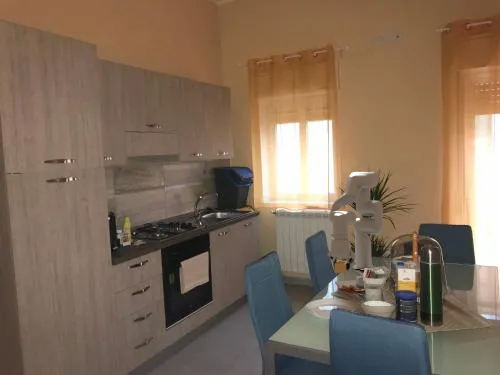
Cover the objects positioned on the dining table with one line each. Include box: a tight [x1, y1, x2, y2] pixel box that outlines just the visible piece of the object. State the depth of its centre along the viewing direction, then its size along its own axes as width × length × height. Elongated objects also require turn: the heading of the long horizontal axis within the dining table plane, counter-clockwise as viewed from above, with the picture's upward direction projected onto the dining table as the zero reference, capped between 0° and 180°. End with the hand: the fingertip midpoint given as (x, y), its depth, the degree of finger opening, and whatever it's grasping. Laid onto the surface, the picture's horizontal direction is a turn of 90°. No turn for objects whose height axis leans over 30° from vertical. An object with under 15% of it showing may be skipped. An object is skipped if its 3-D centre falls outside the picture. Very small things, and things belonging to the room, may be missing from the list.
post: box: [355, 275, 365, 287], centre depth 210 cm, size 3×3×5 cm
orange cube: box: [334, 259, 350, 274], centre depth 217 cm, size 6×6×5 cm
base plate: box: [349, 283, 364, 290], centre depth 210 cm, size 8×8×2 cm
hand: (341, 268), depth 217 cm, fingers closed on orange cube, 6 cm apart
